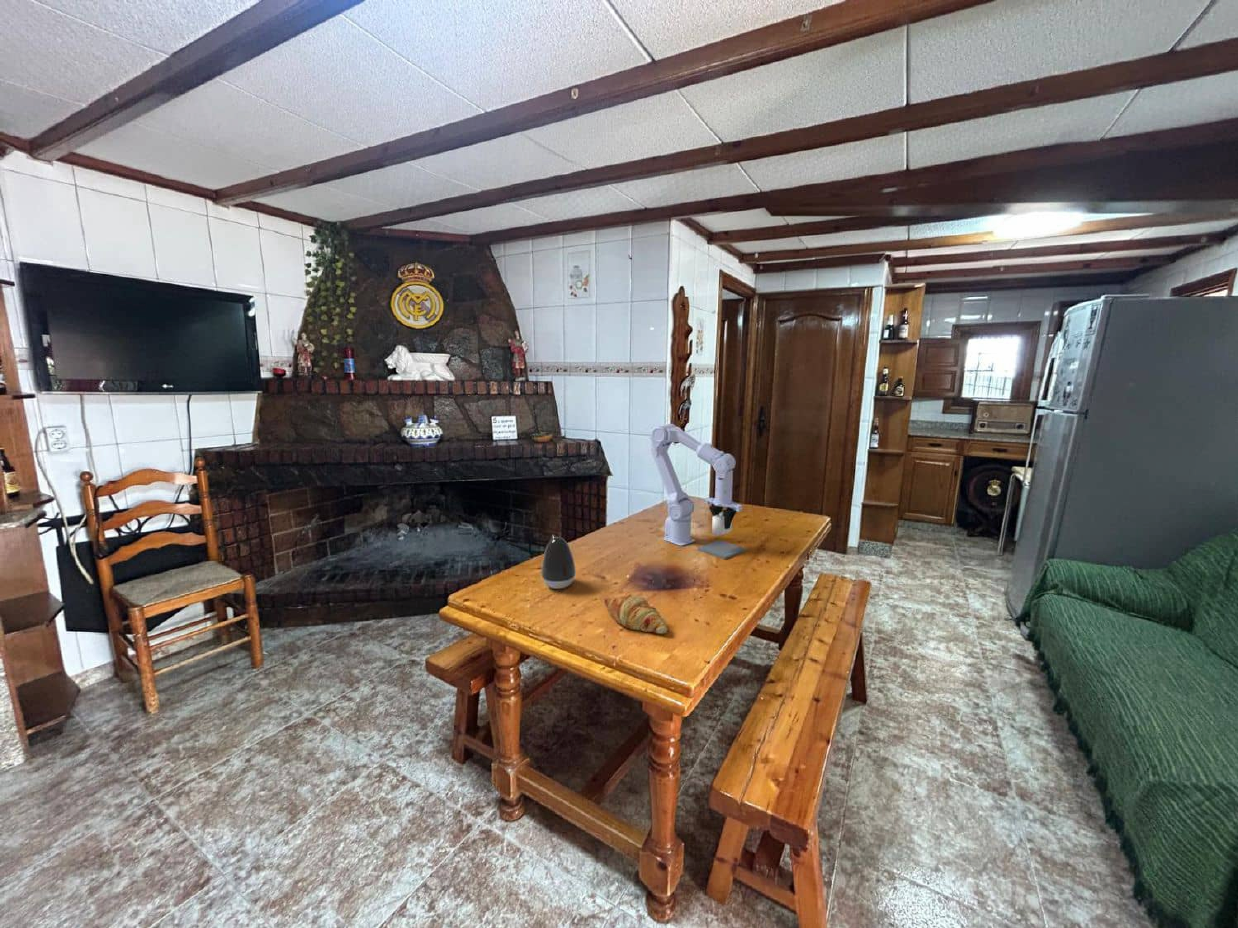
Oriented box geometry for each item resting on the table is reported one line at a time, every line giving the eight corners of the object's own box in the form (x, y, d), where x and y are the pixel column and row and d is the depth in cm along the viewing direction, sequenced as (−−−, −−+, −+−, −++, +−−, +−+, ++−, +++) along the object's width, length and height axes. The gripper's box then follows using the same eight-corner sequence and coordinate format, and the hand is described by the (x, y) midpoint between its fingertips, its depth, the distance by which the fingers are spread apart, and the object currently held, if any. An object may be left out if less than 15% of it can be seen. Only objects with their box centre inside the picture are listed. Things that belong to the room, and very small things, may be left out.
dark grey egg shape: (570, 575, 158) (569, 529, 155) (580, 589, 148) (578, 540, 145) (538, 581, 154) (536, 534, 151) (546, 595, 145) (544, 545, 142)
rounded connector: (709, 533, 175) (710, 514, 173) (725, 528, 180) (725, 509, 179) (718, 536, 172) (718, 516, 170) (733, 530, 177) (734, 511, 176)
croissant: (673, 644, 125) (682, 613, 127) (651, 641, 118) (661, 608, 119) (611, 615, 139) (621, 587, 141) (588, 611, 132) (598, 581, 133)
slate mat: (697, 549, 178) (697, 547, 178) (719, 541, 186) (719, 539, 186) (724, 559, 169) (724, 557, 169) (746, 550, 177) (746, 548, 177)
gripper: (699, 487, 176) (699, 524, 179) (733, 495, 165) (732, 534, 168) (712, 484, 180) (711, 520, 183) (746, 491, 170) (745, 529, 172)
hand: (722, 526), depth 176 cm, fingers closed on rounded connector, 4 cm apart
